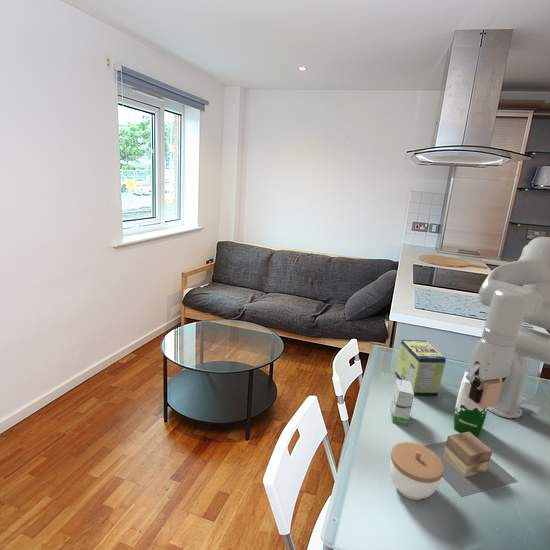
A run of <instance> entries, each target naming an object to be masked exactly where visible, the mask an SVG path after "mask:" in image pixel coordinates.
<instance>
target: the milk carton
mask: <svg viewBox="0 0 550 550" xmlns="http://www.w3.org/2000/svg"><path fill="white" fill-rule="evenodd" d="M468 373H469V372H468V371H464V373H463V374H464V375H463V377H462V379H461V382H460V387H459V391H458V394H457V398H456V403H455V406H454V413H453V414H454V416H453V421H454V422H453V430H454V431H458V432H460V433H465V432H470V433H472V434H473V435H474V436H475V437H477V438H479V436H480V434H481V431H482V429H483V426H484V424H485V419H486V418H487V417H486V416H487V413H488V411H489V410H488V408H481V407H479V406H478V405H476V404H475V403H474V402H472V401H471V400H470V399H468V398H467V395H468V391H469V388H470V382H469V380H468V379H467V378H466V375H467V374H468Z"/></svg>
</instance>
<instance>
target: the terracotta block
mask: <svg viewBox="0 0 550 550" xmlns="http://www.w3.org/2000/svg"><path fill="white" fill-rule="evenodd" d="M479 376H480V375H479ZM477 381H478V383H479V382H480V379H477ZM502 384H503V383H502V382H501V381H499V380H497V379H491V380H486V381H485V383H484V385H483V387H482V390H483V393H482V396H481V400H480V403H476V402H474V401H473V400H472V399H470V398H469V393H470V389H471V384H470V388H469V391H468V395H467V398H468V399H470V400H471V401H472V402H474V403H475V404H476V405H478V406H479V407H481V408H488V407H494V406H496V405H497V401H498V398H499V394H500V391H501V387H502Z"/></svg>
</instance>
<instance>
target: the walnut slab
mask: <svg viewBox="0 0 550 550" xmlns="http://www.w3.org/2000/svg"><path fill="white" fill-rule="evenodd" d="M446 441H447V442H446V445H445V446H446V447H447V448H448V449H449V450H450V451H451V452H452V453H453V454H454V455H455V456H456V457H458V458H459V459H460V460H461V461H462V462H463V463H464V464H465V465H466V466H467V467H468V466H472V465H476V464H480V463H485V462H489V461H490V458H491V457H492V454H493V450H492V449H491V448H490V447H489V446H487V445H486V444H485V443H484V442H483V441H482V440H480V439H479V437H475V436H474V435H473V434H472V433H470V432H465V433H462V432H460V433H456V434H449V435H447V438H446ZM491 459H492V458H491Z"/></svg>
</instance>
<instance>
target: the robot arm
mask: <svg viewBox="0 0 550 550" xmlns="http://www.w3.org/2000/svg"><path fill="white" fill-rule="evenodd" d="M478 300H479V302H480V303H481V304H482V305H484V306H486V307H489V308H488V312H487V315H486V320H485V323H484V327H483V331H482V335H481V338H479V340H478V341H477V343H476V345H475V348H474V350H473V352H472V354H471V358H470V360H469V363H468V368H467V372H469V373H468V374H467V375H466V378H467V379H468V380H469V382H470V384H471V389H470V393H469V398H470V399H472V400H473V401H474V402H476V403H480V400H481V396H482V393H483V390H482V387H483V385H484V383H485V381H486V380H491V379H497V380H499V381H501V382H502V383H503V384H502V387H501V391H500V394H499V398H498V401H497V405H496V406H494V407H488V410H487V411H490V412H491V413H493V414H495V415H496V416H499V417H503V418H506V419H512V418H515V419H519V418H521V417H522V415H523V410H522V409H521V408H520V406H521V404H526V403H527V402H528V400H527V398H526V397H525V396H524V397H523V393H524V389H525V386H526V383H527V379H528V377H529V374H530V365H529V363H528V360H527V358H528V359H532V360H535V361H537V362H540V363H543V364H546V365H550V334H549V333H545V332H542V331H540V330H539V331H538V330H537V329H533V328H529V327H526V326H522V323H525V324H528V325H530V326H534V327H538V328H542V329H544V330H548V331H549V332H550V237H549V236H538V237H535V238H533V239H531V240H530V241H529V242H528V244H526V245H525V246H523V248H522V250H521V255H520V256H519V258H518V260H515V261H511V262H507V263H505V264H500V265H499V266H497V267H495V268H494V269H492V270H491V271H490V272H489V273H488V275H487V277H486V278H485V279H484V280H483V282H482V284H481V286H480V288H479V290H478ZM479 375H480V376H479ZM477 379H480V382H479V383H478V381H477ZM520 416H521V417H520Z"/></svg>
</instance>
